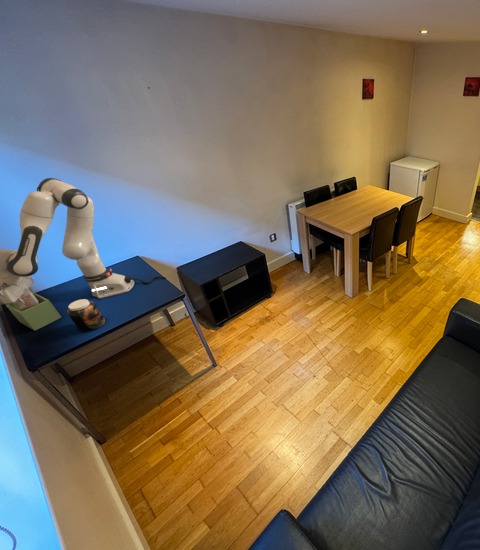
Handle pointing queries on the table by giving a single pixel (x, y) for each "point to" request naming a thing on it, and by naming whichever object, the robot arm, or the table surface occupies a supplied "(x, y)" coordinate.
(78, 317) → the jar
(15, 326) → the table surface
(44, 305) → the tea box
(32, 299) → the tea bag
